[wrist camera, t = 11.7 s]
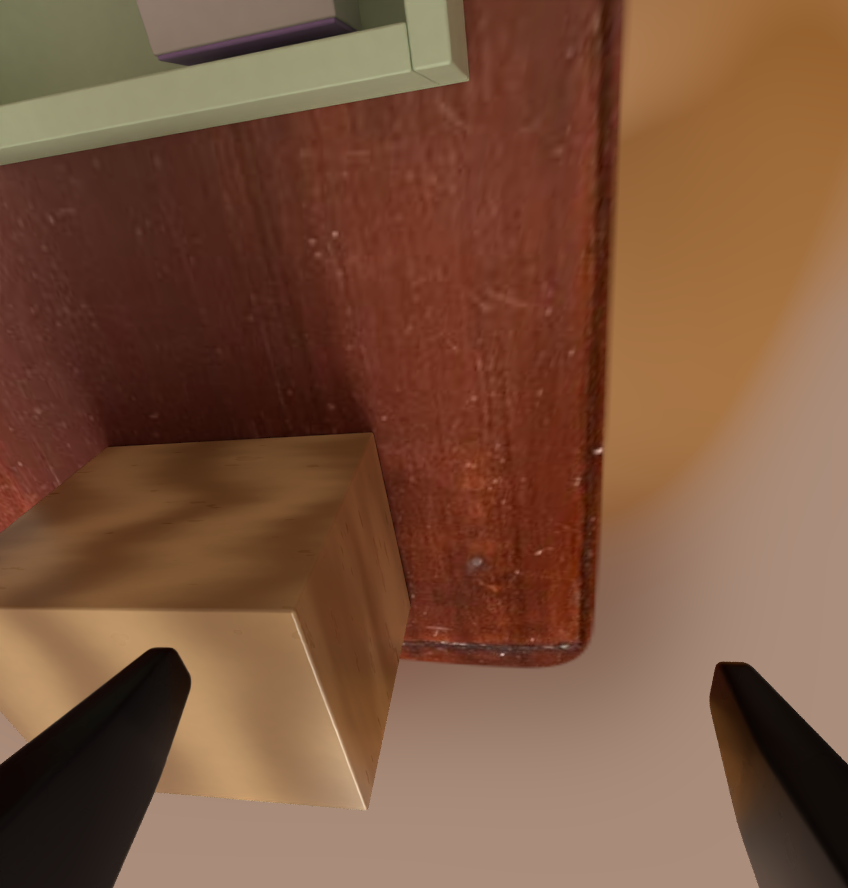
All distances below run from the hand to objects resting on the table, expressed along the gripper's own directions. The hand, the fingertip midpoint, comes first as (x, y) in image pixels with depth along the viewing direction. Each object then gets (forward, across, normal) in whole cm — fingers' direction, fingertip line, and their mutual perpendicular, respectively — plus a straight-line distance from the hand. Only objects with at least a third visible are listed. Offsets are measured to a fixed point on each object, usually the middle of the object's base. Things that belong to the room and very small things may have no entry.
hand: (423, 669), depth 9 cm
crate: (+12, +10, +7) cm, 17 cm away
